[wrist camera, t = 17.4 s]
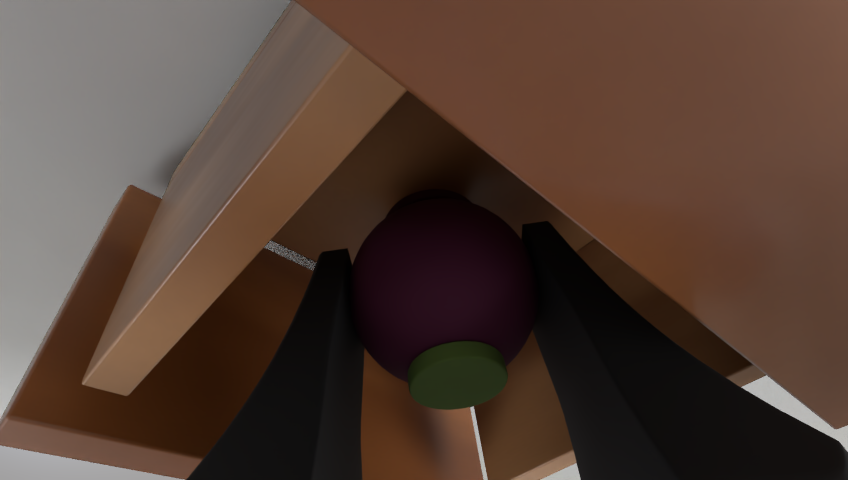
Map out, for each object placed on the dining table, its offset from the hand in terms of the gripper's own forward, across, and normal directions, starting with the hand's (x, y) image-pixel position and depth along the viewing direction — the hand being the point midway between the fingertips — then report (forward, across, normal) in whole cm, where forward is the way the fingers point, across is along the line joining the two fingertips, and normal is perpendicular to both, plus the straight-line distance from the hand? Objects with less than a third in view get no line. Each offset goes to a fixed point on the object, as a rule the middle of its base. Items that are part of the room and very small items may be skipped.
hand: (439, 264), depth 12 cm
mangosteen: (+1, 0, 0) cm, 1 cm away
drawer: (+3, +2, +2) cm, 4 cm away
